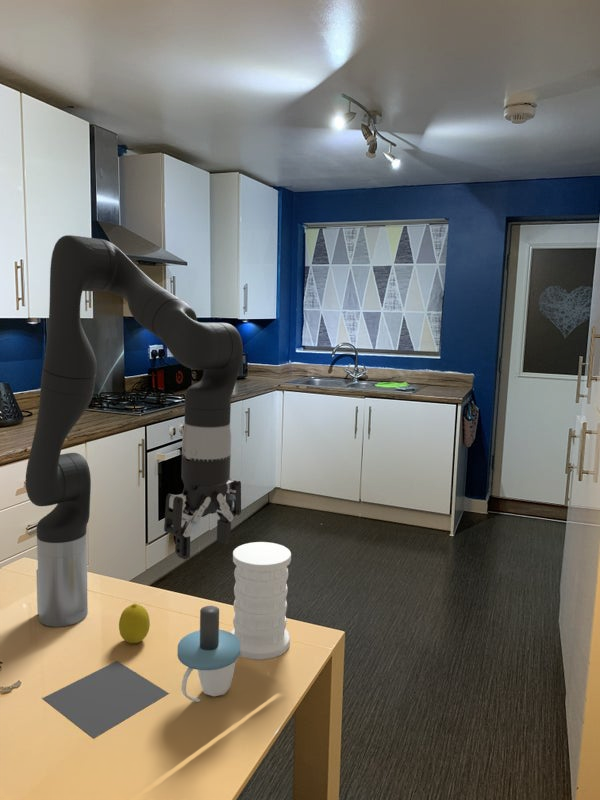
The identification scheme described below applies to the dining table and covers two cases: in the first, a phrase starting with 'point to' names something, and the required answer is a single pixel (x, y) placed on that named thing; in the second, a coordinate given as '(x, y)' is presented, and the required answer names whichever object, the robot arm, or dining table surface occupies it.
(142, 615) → the lemon
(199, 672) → the cup
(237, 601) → the decorative container
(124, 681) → the mat
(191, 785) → the dining table surface
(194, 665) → the lid
